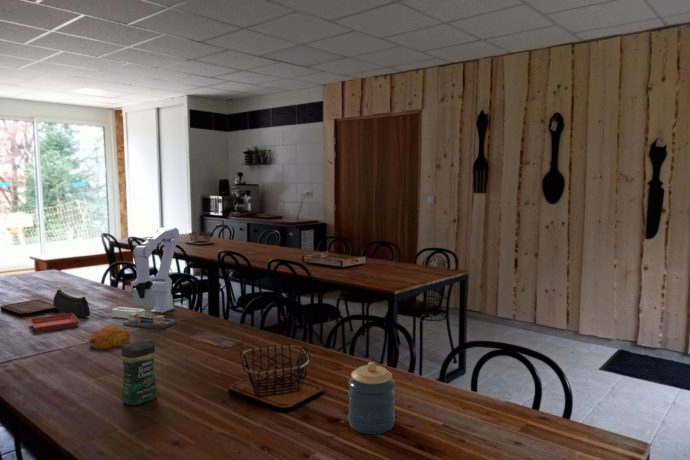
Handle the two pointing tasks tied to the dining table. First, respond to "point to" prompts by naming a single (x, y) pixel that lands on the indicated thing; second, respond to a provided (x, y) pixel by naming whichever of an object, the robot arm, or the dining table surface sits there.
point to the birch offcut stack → (134, 317)
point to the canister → (371, 399)
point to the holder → (126, 312)
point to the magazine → (71, 304)
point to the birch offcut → (158, 319)
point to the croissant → (109, 337)
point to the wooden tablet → (216, 340)
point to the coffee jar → (138, 372)
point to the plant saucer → (54, 322)
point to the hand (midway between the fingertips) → (144, 297)
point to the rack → (149, 323)
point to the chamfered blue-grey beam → (145, 298)
